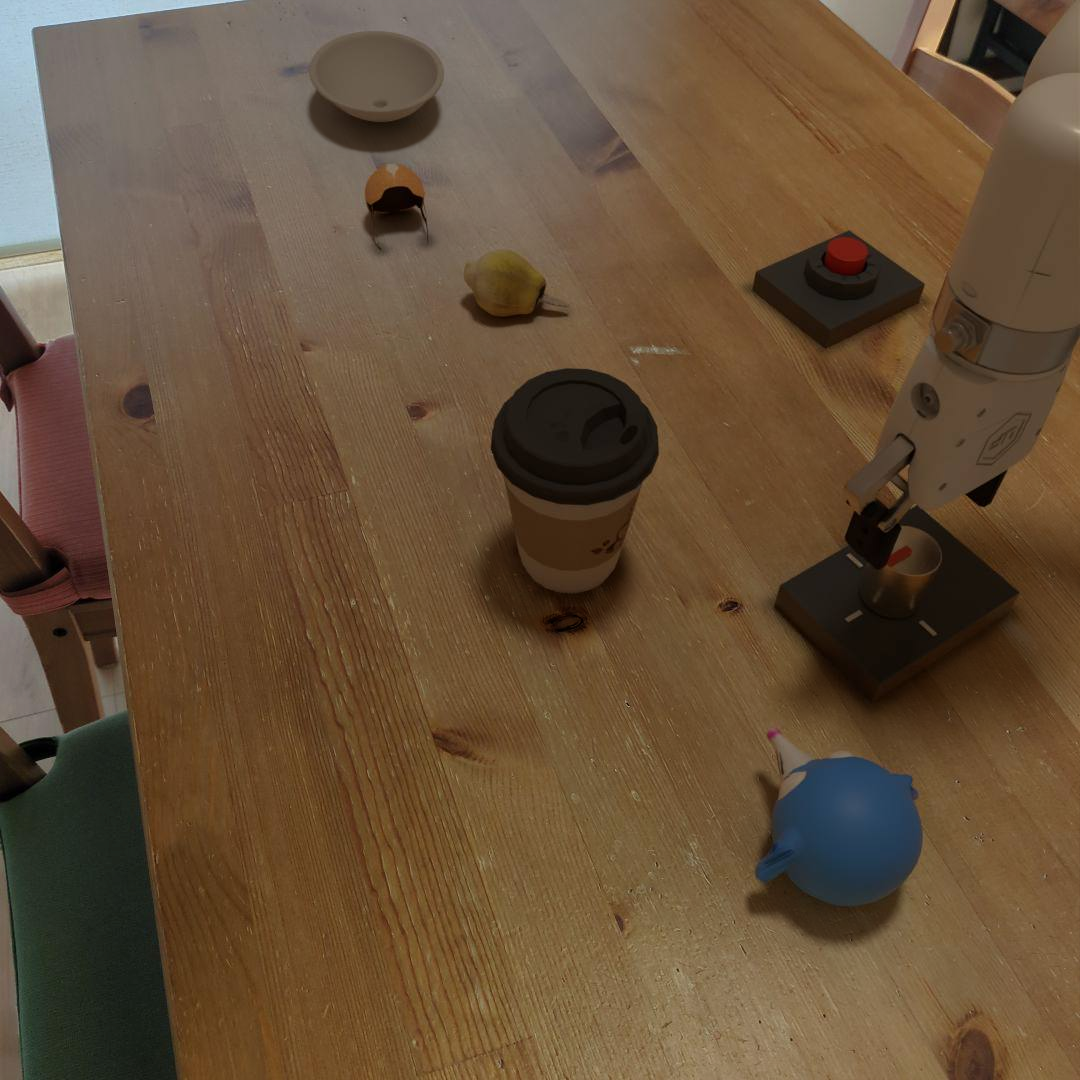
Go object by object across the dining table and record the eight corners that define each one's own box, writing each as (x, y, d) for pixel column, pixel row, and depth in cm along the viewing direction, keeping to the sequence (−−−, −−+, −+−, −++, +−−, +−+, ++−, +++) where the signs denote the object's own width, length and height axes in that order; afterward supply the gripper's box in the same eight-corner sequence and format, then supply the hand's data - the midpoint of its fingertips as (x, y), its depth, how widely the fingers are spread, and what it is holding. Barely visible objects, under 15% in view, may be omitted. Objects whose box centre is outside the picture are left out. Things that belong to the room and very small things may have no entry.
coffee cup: (601, 642, 79) (615, 503, 68) (465, 579, 83) (456, 437, 71) (668, 535, 86) (691, 392, 74) (539, 481, 89) (542, 336, 78)
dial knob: (889, 560, 81) (909, 513, 77) (934, 601, 79) (957, 554, 75) (845, 587, 80) (863, 540, 76) (890, 629, 77) (911, 583, 73)
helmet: (431, 254, 113) (417, 178, 113) (435, 232, 106) (420, 151, 106) (374, 262, 112) (360, 185, 112) (375, 240, 105) (359, 158, 105)
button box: (844, 248, 110) (853, 213, 106) (918, 302, 104) (931, 267, 101) (751, 290, 105) (758, 255, 102) (824, 349, 100) (834, 313, 97)
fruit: (564, 337, 101) (455, 316, 100) (566, 312, 106) (462, 291, 105) (576, 277, 97) (464, 254, 97) (578, 253, 102) (471, 232, 102)
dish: (302, 82, 128) (296, 40, 125) (423, 65, 131) (420, 22, 128) (333, 164, 118) (326, 120, 114) (464, 142, 121) (462, 99, 117)
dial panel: (908, 525, 87) (918, 503, 85) (1008, 612, 82) (1021, 590, 80) (773, 605, 82) (780, 583, 80) (870, 703, 76) (880, 682, 74)
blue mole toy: (830, 724, 75) (860, 655, 69) (949, 873, 69) (994, 812, 62) (682, 800, 72) (698, 734, 65) (792, 965, 65) (823, 911, 59)
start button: (844, 248, 104) (848, 232, 102) (871, 268, 102) (876, 252, 100) (815, 261, 102) (819, 245, 101) (843, 281, 100) (847, 265, 99)
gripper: (949, 416, 55) (863, 620, 68) (1166, 298, 61) (1049, 505, 74) (842, 333, 59) (780, 540, 72) (1057, 230, 65) (964, 438, 78)
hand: (917, 522), depth 73 cm, fingers open, 9 cm apart
